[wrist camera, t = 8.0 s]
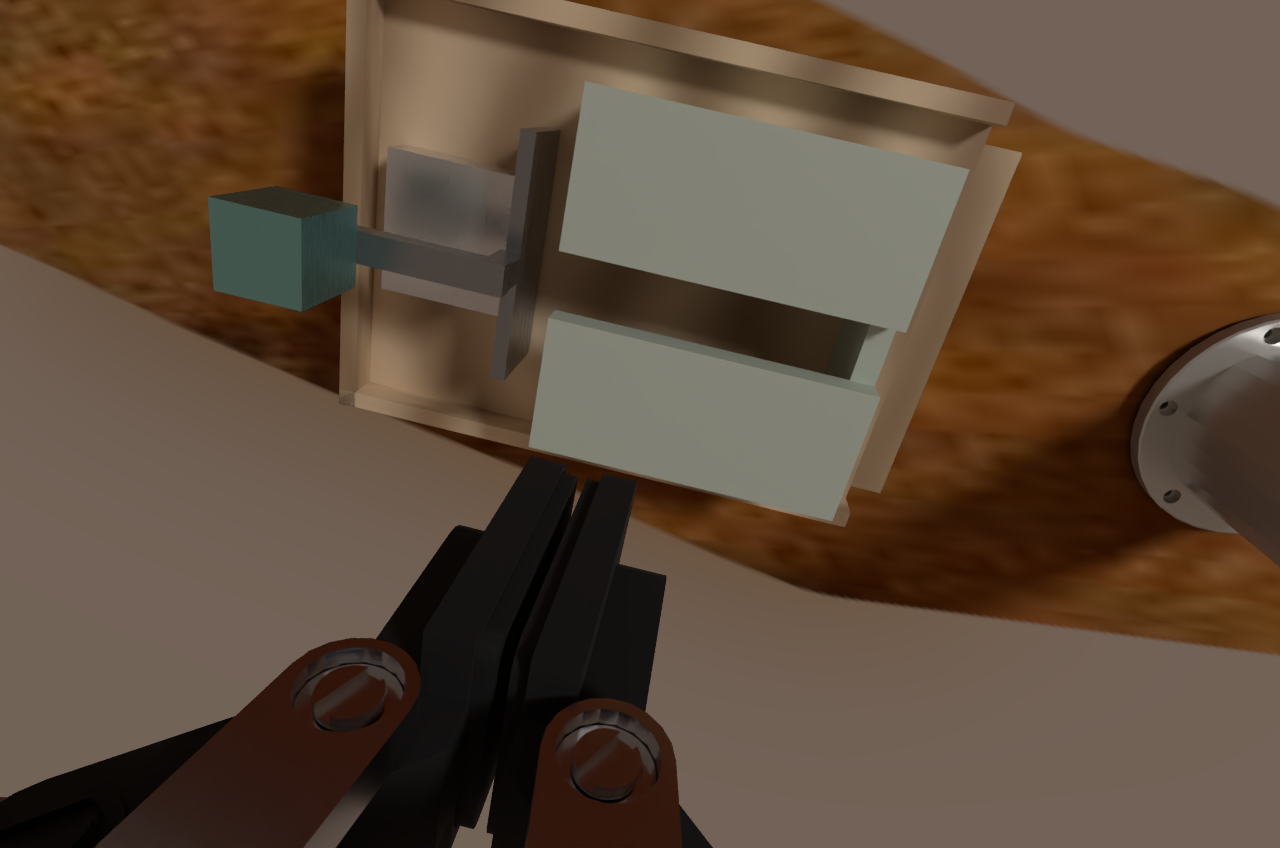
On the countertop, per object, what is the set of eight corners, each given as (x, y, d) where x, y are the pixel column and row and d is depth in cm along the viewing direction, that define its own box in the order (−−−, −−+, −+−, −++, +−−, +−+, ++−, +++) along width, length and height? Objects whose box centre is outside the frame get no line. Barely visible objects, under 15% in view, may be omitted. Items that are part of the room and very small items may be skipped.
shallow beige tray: (980, 112, 33) (1056, 112, 25) (848, 455, 41) (875, 534, 33) (436, -12, 34) (347, -49, 26) (412, 350, 42) (339, 403, 34)
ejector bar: (565, 131, 29) (486, 138, 19) (532, 353, 33) (454, 445, 24) (369, 85, 29) (200, 71, 20) (362, 312, 33) (220, 387, 24)
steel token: (541, 175, 30) (529, 179, 28) (523, 308, 32) (511, 319, 30) (408, 144, 30) (387, 146, 28) (400, 278, 32) (381, 288, 31)
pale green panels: (925, 159, 28) (969, 169, 22) (817, 458, 34) (832, 521, 28) (612, 87, 28) (584, 81, 23) (559, 396, 34) (528, 446, 29)
